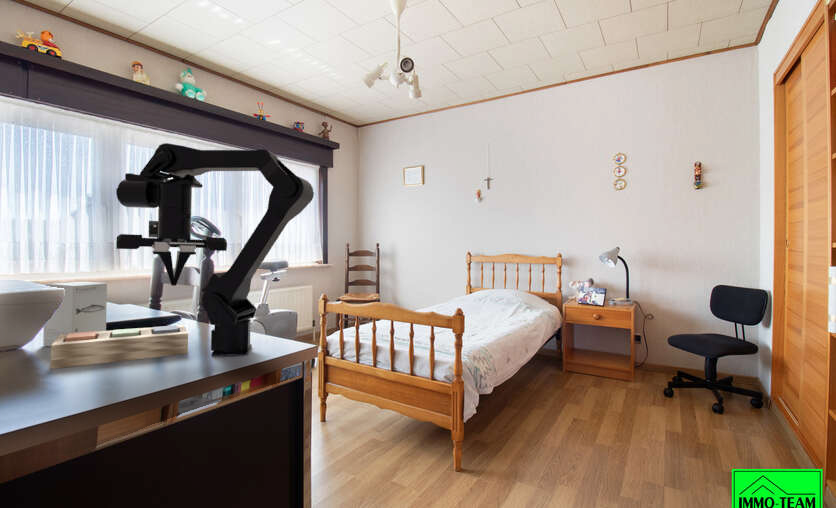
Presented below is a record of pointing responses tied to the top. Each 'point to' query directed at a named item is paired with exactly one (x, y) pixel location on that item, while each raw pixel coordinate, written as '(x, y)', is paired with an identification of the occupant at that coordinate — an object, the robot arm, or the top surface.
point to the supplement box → (78, 310)
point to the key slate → (165, 329)
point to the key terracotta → (81, 336)
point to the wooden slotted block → (117, 347)
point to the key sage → (125, 332)
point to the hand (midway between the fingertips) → (173, 285)
